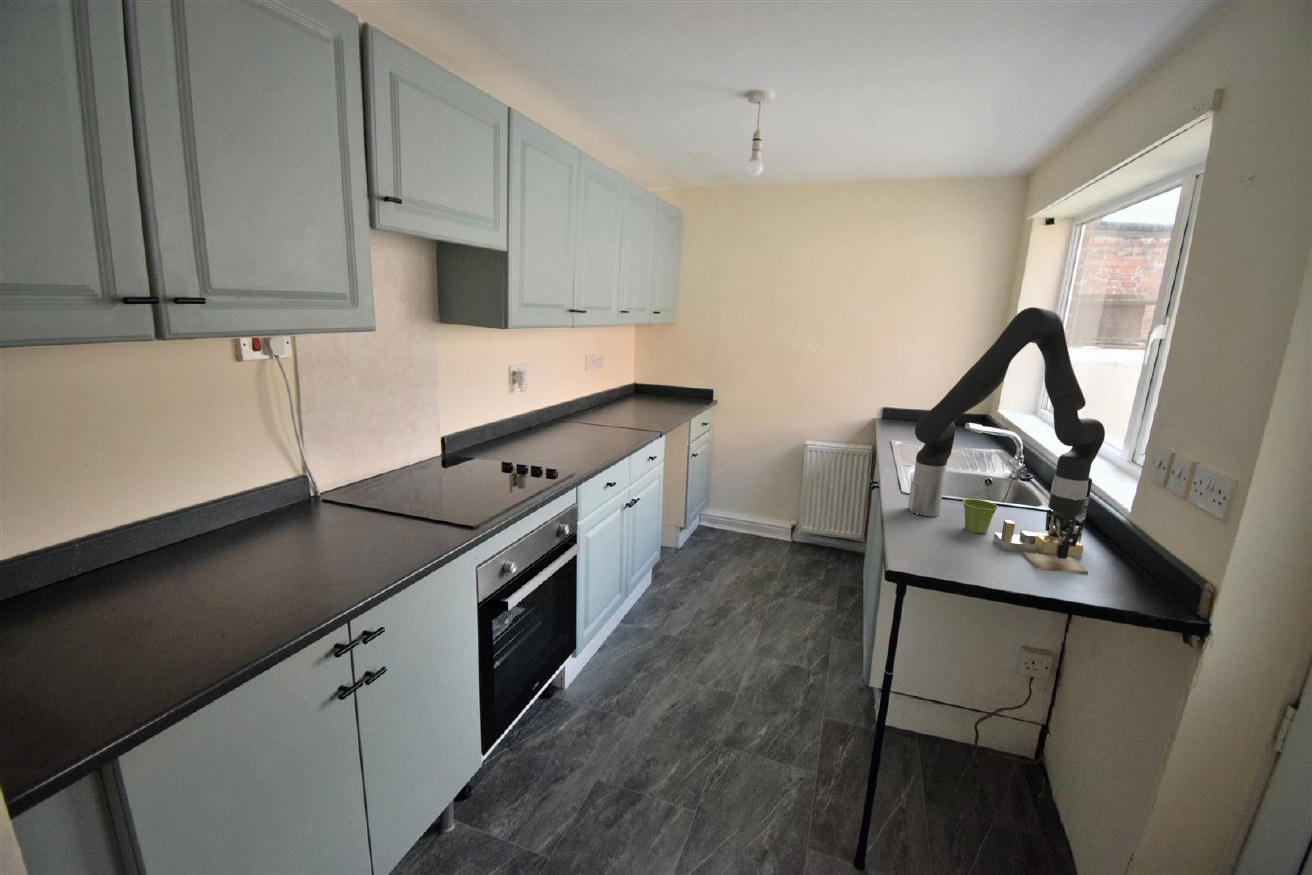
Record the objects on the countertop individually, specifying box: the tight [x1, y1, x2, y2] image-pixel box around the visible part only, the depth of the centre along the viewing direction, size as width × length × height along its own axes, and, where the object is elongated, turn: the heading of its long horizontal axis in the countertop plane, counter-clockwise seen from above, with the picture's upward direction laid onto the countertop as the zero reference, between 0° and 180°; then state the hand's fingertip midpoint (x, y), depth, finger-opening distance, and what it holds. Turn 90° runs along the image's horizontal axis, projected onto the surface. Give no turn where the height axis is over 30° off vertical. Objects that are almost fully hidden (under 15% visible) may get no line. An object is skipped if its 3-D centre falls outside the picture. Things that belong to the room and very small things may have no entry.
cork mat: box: [1022, 552, 1089, 575], centre depth 151 cm, size 12×9×1 cm
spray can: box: [1075, 477, 1093, 543], centre depth 165 cm, size 7×7×20 cm
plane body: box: [992, 519, 1084, 559], centre depth 160 cm, size 20×7×8 cm, turn 78°
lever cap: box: [1035, 535, 1084, 556], centre depth 150 cm, size 9×5×4 cm, turn 78°
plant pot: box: [962, 498, 999, 535], centre depth 173 cm, size 9×9×9 cm
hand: (1056, 553), depth 150 cm, fingers closed on lever cap, 5 cm apart
